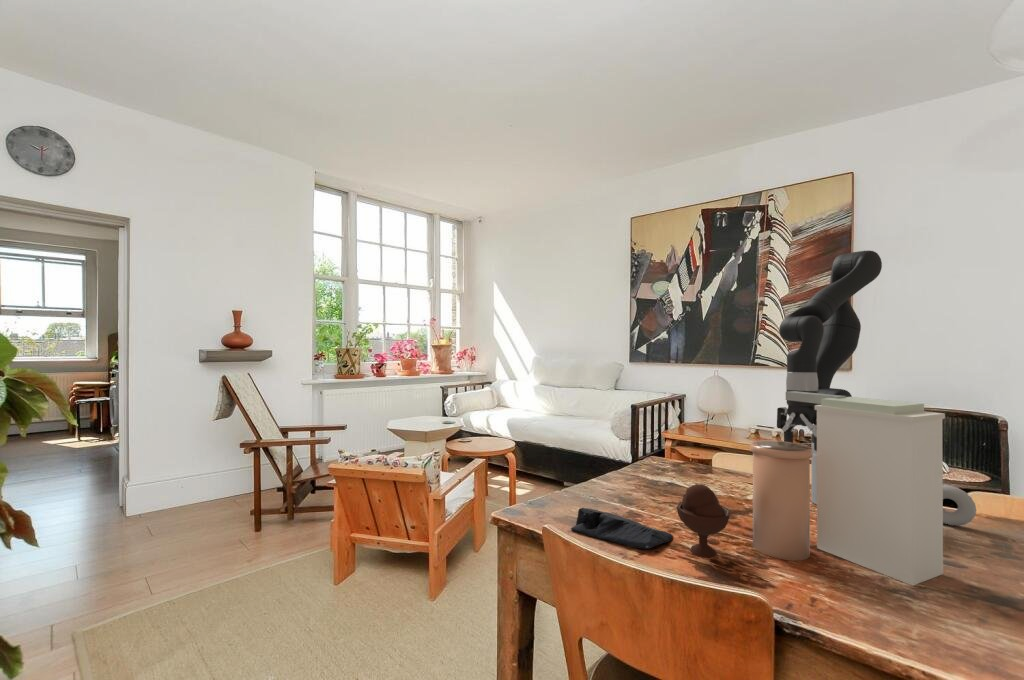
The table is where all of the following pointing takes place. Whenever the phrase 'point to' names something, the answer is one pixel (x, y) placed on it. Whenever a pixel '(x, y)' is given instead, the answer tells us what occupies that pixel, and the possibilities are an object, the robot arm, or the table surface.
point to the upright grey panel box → (881, 490)
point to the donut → (964, 503)
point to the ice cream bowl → (702, 517)
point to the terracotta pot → (781, 499)
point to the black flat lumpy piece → (618, 529)
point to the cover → (856, 403)
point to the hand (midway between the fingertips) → (803, 447)
